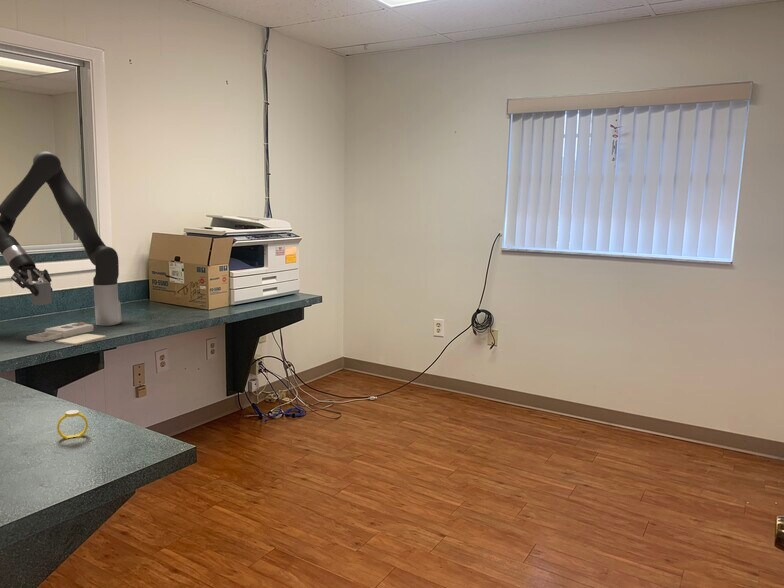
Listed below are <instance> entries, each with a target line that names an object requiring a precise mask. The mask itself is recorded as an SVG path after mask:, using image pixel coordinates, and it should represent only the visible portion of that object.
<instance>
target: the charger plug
mask: <svg viewBox="0 0 784 588" xmlns="http://www.w3.org/2000/svg"><path fill="white" fill-rule="evenodd" d="M32 283H33V285H34V286H35V287H36V288H37V290H38V291H39V294H38V295H37V296H35V295H33V294H32V293H31V303H32V304H31V305H32V306H33V305H34V306H45V305H51V304H53V299H52V297H53V296H52V292H51V288H52V284H51V282H43V281H42V282H38V283H36V282H32Z"/></svg>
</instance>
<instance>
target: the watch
mask: <svg viewBox="0 0 784 588" xmlns="http://www.w3.org/2000/svg"><path fill="white" fill-rule="evenodd" d="M72 417H80V418H82V419H83V421H84V422H85V426H84V429H83V430H82V431H81V432H80V433H77V434H72V435H70V434H69V435H67V434H64V433H63V432H62V431H61V429H60V424H61V423H62V421H63V420H65V418H72ZM88 423H89V422H88V419H87V417H86V416H85V415H84V414H83V413H80V410H78V409H71V410H67V411H65V412H64V414H63V415H62V416H60V417H59V419H58V421H57V425H56V426H57V427H56V431H57V434H58V435H59V436H60V437H61V438H62V439H65V440H68V439H67V438H70V439H74V438H73V437H77V438H81V437H83V435H85V434H86V432H87V430H88V428H89V427H88V426H89V424H88Z"/></svg>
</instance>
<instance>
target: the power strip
mask: <svg viewBox="0 0 784 588" xmlns="http://www.w3.org/2000/svg"><path fill="white" fill-rule="evenodd" d="M91 332H94V324H88V323H86V322H81V321H80V322H72V323H66V324H63V325H57V326H51V327H47V328H44V332H39V333H35V334H30V335H26V340H27V341H32V342H38V343H39V342H40V343H43V342H48V341H52V340H57V339H58V340H59V339H66V338H70V337H74V336H79V335H83V334H87V333H91Z"/></svg>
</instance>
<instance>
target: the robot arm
mask: <svg viewBox="0 0 784 588" xmlns="http://www.w3.org/2000/svg"><path fill="white" fill-rule="evenodd" d="M45 184H47V185H48V188H49V189H50V190H51V193H52V194H53V196H54V199H55V201H56V204H57V207H59V209H60V212H61V213H62V215H63V216H64V218H65V220H66V221H67V222H68V224H69V225H70V228H71V229H72V230H73V232H74V233H75V234H76V236H77V238H78V239H79V240H80V242H81V244H82V246H83V247H84V250H85V252H86V255H87V257H88V259H89V260H90V262H91V263H92V265H93V266H95V275H94V277H93V279H92V281H93V297H94V300H93V301H94V315H95V316H94V317H95V325H96V326H101V327H102V326H103V327H105V326H115V325H118V324H120V323H122V310H121V309H122V308H121V301H120V300H119V290H118V287H119V286H118V279H119V274H120V271H119V270H120V268H119V267H120V266H119V264H120V263H119V262H120V261H119V255H118V252H117V251H116V249H114V248H113V247H111V246H106V244H105V243H104V241H103V240H102V238H101V236H100V235H99V234H98V231H97V229H96V226H95V221H94V218H93V215H92V213H91V211H90V210H89V208H88V206H87V205H86V203H85V201H84V200H83V198H82V197H81V196H80V194H79V192H78V191H77V190H76V189H75V187H73V185H72V184H71V183H70V181H69V180H68V178H67V176H66V174H65V172H64V169H63V167H62V163H61V160H60V158H59V157H58V156H57V155H56V154H55V153H53V152H51V151H46V150H42V151H40V152H37V153H36V154H35V155H34V157H33V159H32V165H31V167H30V168H29V171H28V173H27V174H26V175H25V176H24V178H22V180H21V181H20V182H19V183H18V184H17V185H16V186H15V187H14V188H13V189H12V190H11V191H10V192H9V193H8V195H6V197H5V198H4V199H3V201H2V202H1V203H0V254H1V256H2V257H3V259H4V261H5V262H6V263H7V265H8V266H9V267H10V269H11V270H12V271H13V274H12V275H11V277H10V278H11V280H13V282H15V283H16V284H17V285H18V286H19V287H20V288H22V289H27V290H29V292H31V293H30V294H31V295H32V294H33V295H35V296H37V295H38V294H39V291H38V290H37V288H36V287H35V286H34V285H33V283H38V282H50V283H51V282H53V281H52V278H51V276H50V274H49V272H48V269H43V270H40V269H38V268H37V267H36V263H35V261H34V260H33V259H32V257H31V256H30V255H29V254H28V252H27V251H26V250H25V249H24V248H23V247H22V245H21V244H20V243H19V241H17V239H16V238H15V237H14V236H12V235H11V234H10V233H11V232H12V230H13V227H14V225H15V224H16V221H17V218H18V217H19V216H20V215H21V213H22V212H23V211H24V210H25V209H26V207H27V206H28V204H29V203H30V202H31V201H32V199H33V198H34V196H35V195H36V193H37V192H38V191H39V190H40V189H41V188H42V186H44V185H45ZM52 292H53V288H52V287H51V293H52Z"/></svg>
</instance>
